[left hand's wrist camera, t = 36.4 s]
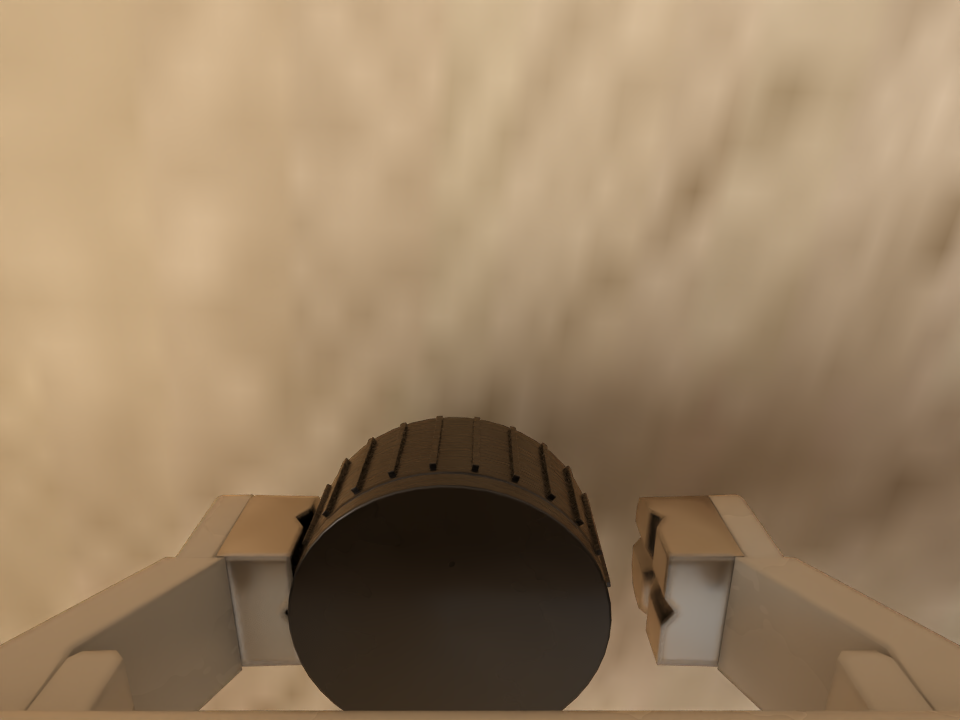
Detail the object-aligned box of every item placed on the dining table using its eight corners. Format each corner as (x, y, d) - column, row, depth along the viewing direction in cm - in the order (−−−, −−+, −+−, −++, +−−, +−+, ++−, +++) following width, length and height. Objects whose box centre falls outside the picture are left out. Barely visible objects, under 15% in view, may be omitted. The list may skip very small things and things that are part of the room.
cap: (301, 619, 11) (263, 719, 9) (339, 385, 9) (305, 448, 8) (552, 666, 11) (565, 771, 9) (628, 444, 10) (659, 519, 8)
